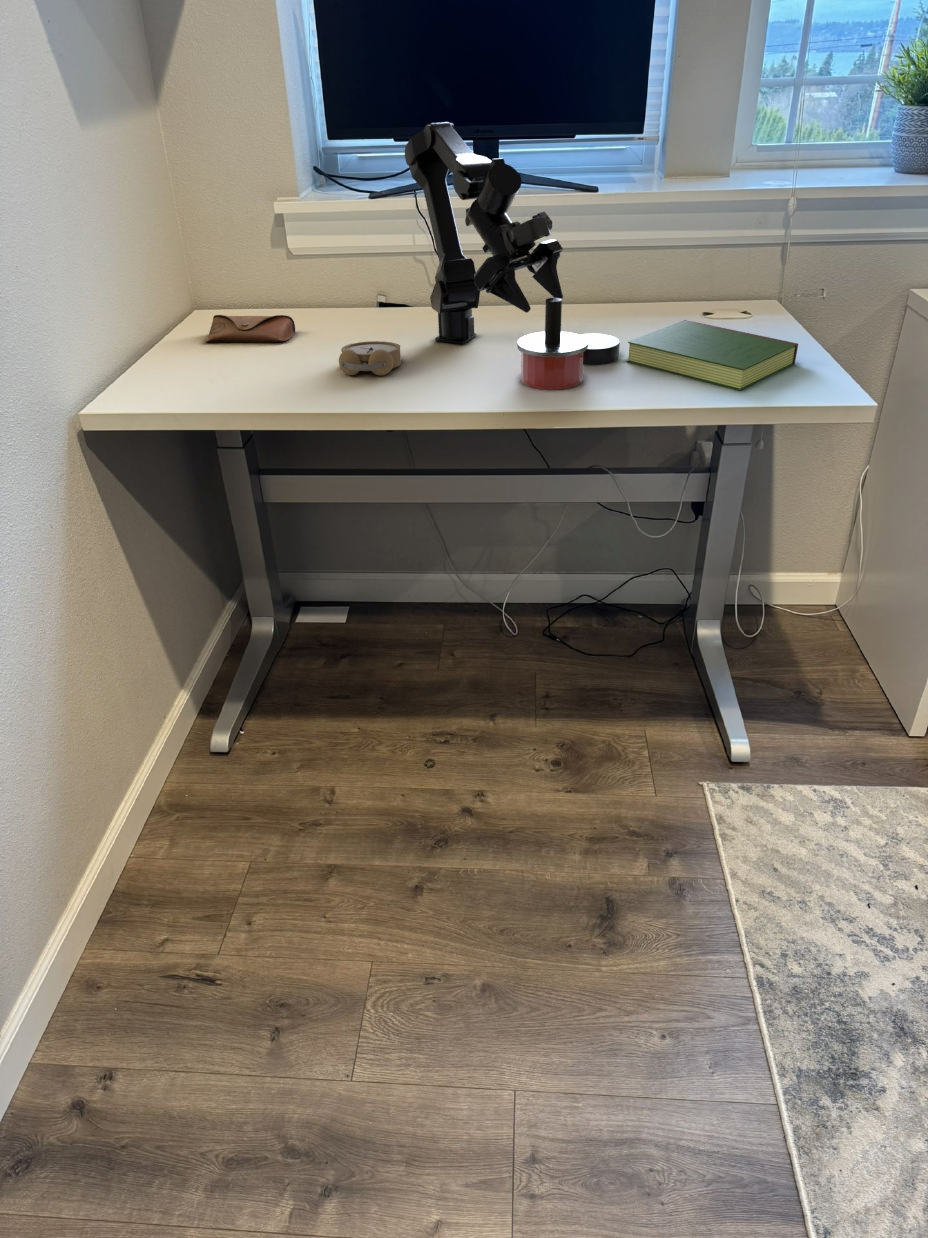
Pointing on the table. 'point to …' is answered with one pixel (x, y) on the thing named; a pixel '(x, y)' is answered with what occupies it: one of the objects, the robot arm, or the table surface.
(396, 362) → the alarm clock
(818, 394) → the table surface
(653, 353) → the hardcover book
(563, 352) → the lid
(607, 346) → the stand
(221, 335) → the sunglasses case
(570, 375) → the red faceted pot
